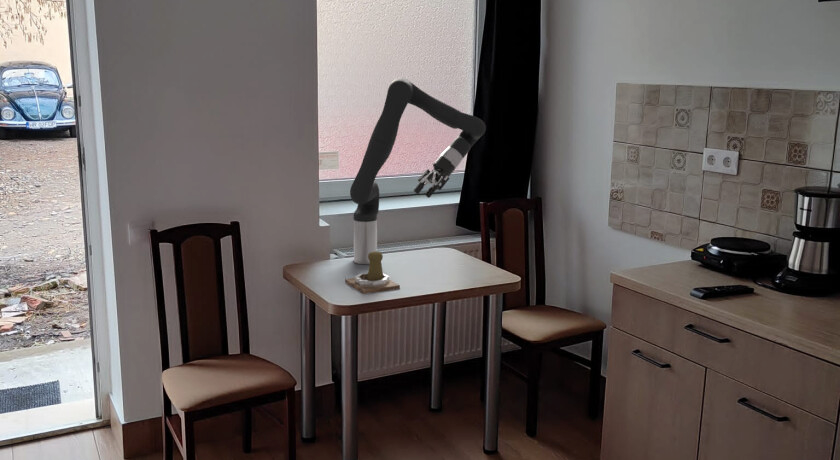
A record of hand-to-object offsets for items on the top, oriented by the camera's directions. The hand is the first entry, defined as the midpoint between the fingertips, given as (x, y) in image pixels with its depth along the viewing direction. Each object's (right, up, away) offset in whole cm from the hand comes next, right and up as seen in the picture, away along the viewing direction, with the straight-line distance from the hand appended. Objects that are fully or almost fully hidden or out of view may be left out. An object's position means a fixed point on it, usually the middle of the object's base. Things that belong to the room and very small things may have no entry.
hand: (421, 194), depth 287 cm
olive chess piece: (-16, -32, -8) cm, 37 cm away
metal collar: (-18, -32, -9) cm, 38 cm away
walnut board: (-18, -33, -8) cm, 38 cm away
